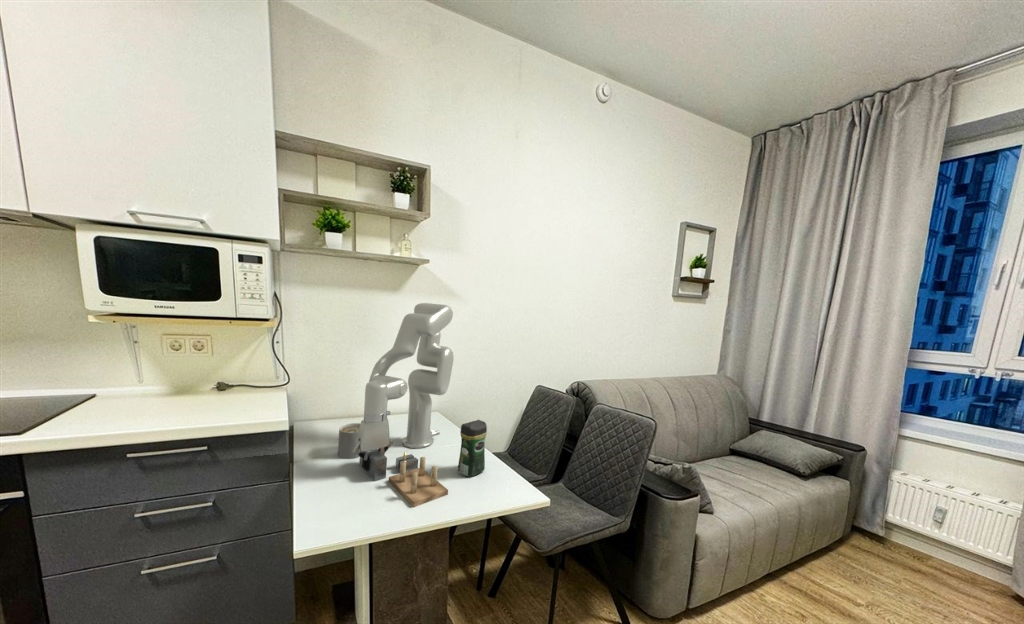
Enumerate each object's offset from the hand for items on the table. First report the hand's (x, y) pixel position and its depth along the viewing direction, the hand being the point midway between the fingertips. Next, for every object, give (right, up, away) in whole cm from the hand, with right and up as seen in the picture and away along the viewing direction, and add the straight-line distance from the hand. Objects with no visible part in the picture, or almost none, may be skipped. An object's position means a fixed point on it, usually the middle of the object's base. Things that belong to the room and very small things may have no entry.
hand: (372, 466), depth 124 cm
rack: (+18, -3, -8) cm, 20 cm away
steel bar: (0, -1, 0) cm, 1 cm away
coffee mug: (-12, 0, +14) cm, 19 cm away
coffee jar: (+34, -4, +5) cm, 35 cm away
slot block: (+11, -2, +4) cm, 12 cm away
